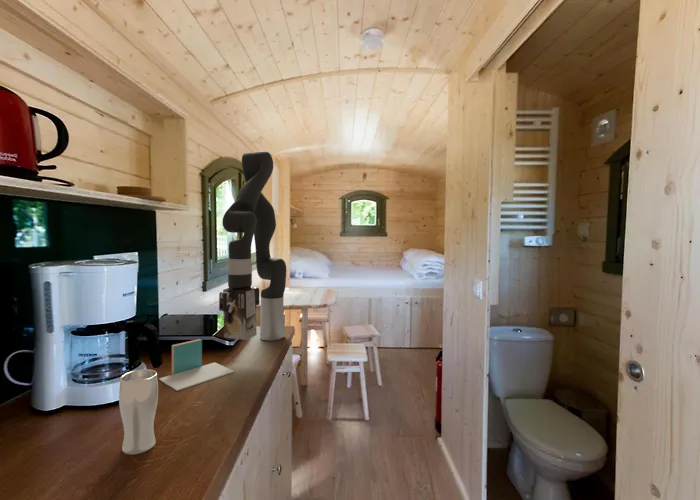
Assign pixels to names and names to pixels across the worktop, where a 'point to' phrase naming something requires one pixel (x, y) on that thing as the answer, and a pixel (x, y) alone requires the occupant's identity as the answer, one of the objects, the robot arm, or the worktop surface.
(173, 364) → the tile
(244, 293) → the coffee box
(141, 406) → the beer glass
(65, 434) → the worktop surface
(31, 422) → the worktop surface
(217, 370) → the mat
